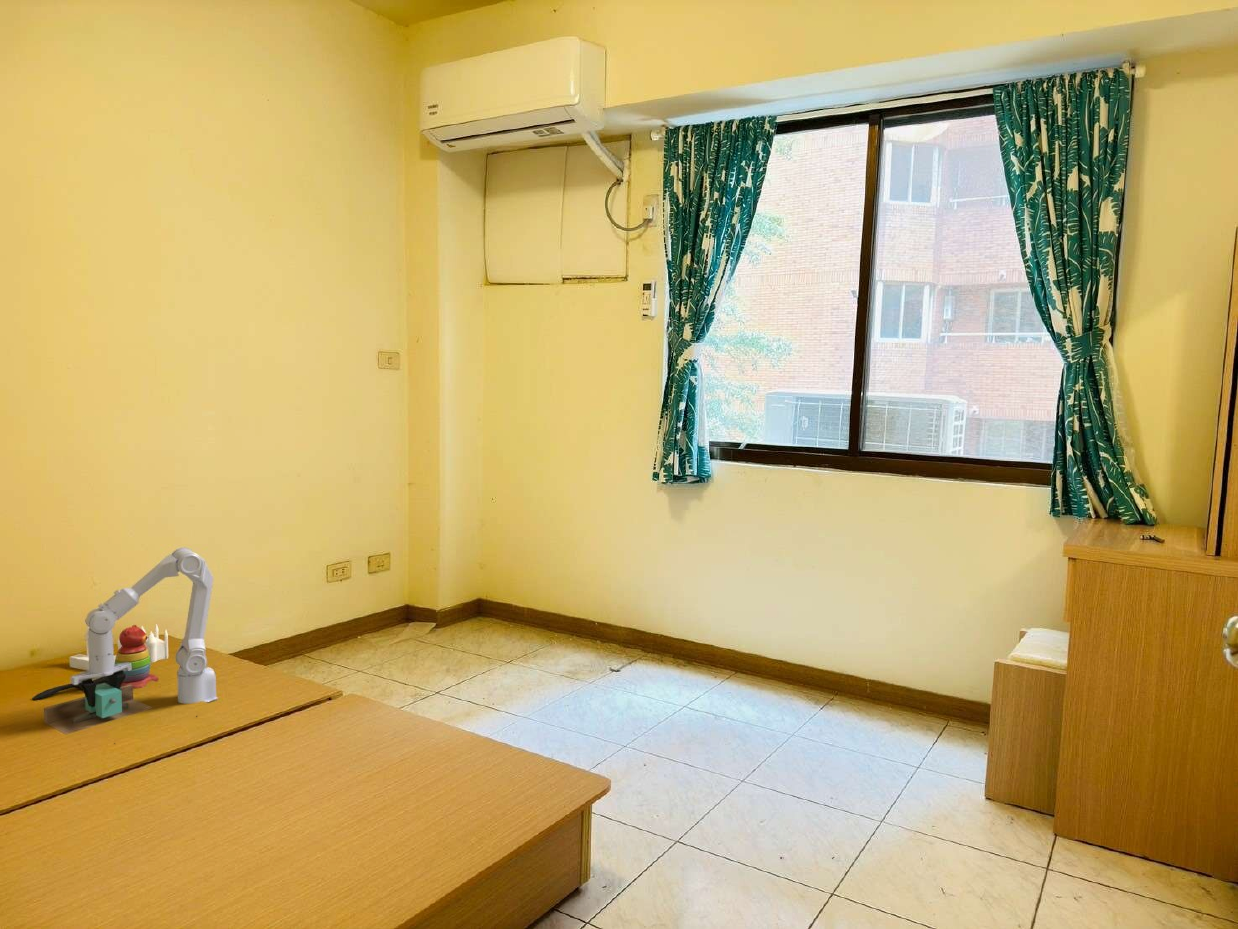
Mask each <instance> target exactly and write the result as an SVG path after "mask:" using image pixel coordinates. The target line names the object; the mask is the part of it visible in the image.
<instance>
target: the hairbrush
mask: <svg viewBox="0 0 1238 929" xmlns="http://www.w3.org/2000/svg"><path fill="white" fill-rule="evenodd" d="M92 681H93V683H95V684H96V685H98V684H102V683H106V684H108V685H110V684H109V678H108V676H104V677H100V678H96V679H92ZM69 689H78V690H82V689H81V687H80V686H79V684H77V685H73V684H71V683H67V684H63V685H58V686H55V687H52V688H49V689H46V690H44V691H41V692H39V693H37V694H35V696H33V697H32V698H31V699H32V701H41V700H44V699H46V698H48V697H50V696H53V695H55V694H57V693H59V692H62V691H66V690H67V691H68V690H69ZM82 691H83V690H82Z"/></svg>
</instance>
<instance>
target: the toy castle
mask: <svg viewBox="0 0 1238 929" xmlns="http://www.w3.org/2000/svg"><path fill="white" fill-rule="evenodd" d="M89 628H90V627H88V626H87V629H86V631H85V635H84V638H85V642H86V654H82V653H78V654H75V655H72V656H69V667H70V668H74V669H79V670H83V671H87V670H89V653H88V637H89V636H88V629H89ZM140 628H141V629H142V630H143V631H144V632H145V633H146V634H147V632H146V630H145V628H144V626H143V625H141V627H140ZM159 630H160V629H159V627H158V623H157V622H156V624H155V629H154V632H153V631H152V630H151V631H150V632H149V635H148V638H147V641H146V642H145V643H144V645H146V647H147V650H148V653H149V656H150V660H151V662H150V663H156V662H157V661H159V660H164V659H165V660H167V659H169V638H168V637H169V634H168V630H167V629H165V631H164V635H163V636H164V640H163V639H160V638H159ZM122 631H123V630H122ZM122 631H120V633H121V632H122ZM154 633H155V634H154ZM116 643H117V648H118V650H119V649H120V647H122V645H121V643H120V640H119V638H118V640H117V642H116ZM115 659H116V654H115V655H114V664H115Z"/></svg>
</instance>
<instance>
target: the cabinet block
mask: <svg viewBox="0 0 1238 929" xmlns="http://www.w3.org/2000/svg"><path fill="white" fill-rule="evenodd" d="M84 697H85V710H87V711H89V712H91V713H92V712H95V711H96V715H97V716H99V717H101V718H105V717H108V716H111V715H115V714H118V713H121V712H122V692H121V690H119V689H117V688H115V687H112V686H110V685H108V684H106V683H102V684H98V685H96V689H95V707H90V706H89V705H88V701H87V698H86V696H85V695H84Z"/></svg>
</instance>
